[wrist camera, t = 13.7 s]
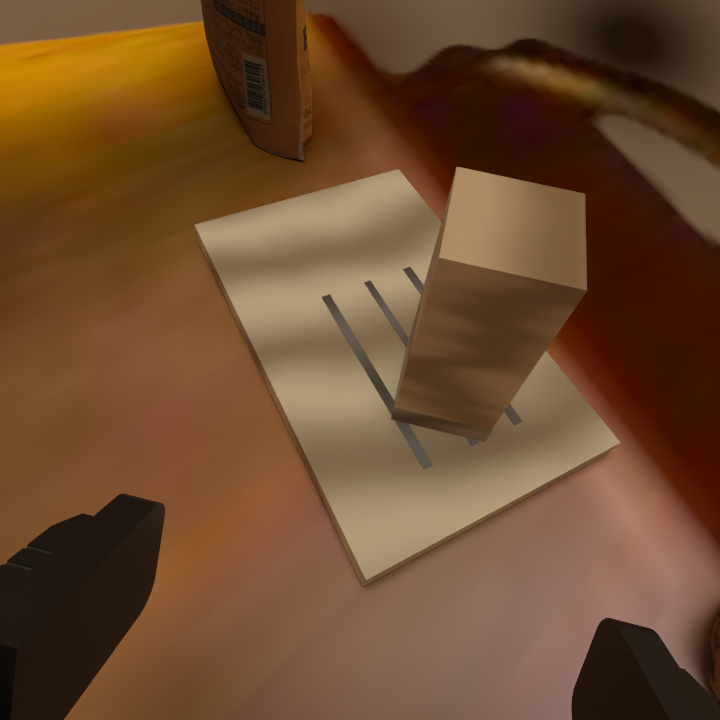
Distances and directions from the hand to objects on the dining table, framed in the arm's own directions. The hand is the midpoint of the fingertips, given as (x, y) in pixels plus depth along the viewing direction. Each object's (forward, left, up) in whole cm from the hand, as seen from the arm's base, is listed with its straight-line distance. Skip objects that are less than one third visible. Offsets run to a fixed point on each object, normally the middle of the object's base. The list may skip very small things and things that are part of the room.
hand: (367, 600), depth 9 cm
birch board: (-13, +9, -14) cm, 21 cm away
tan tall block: (-8, +10, -12) cm, 18 cm away
